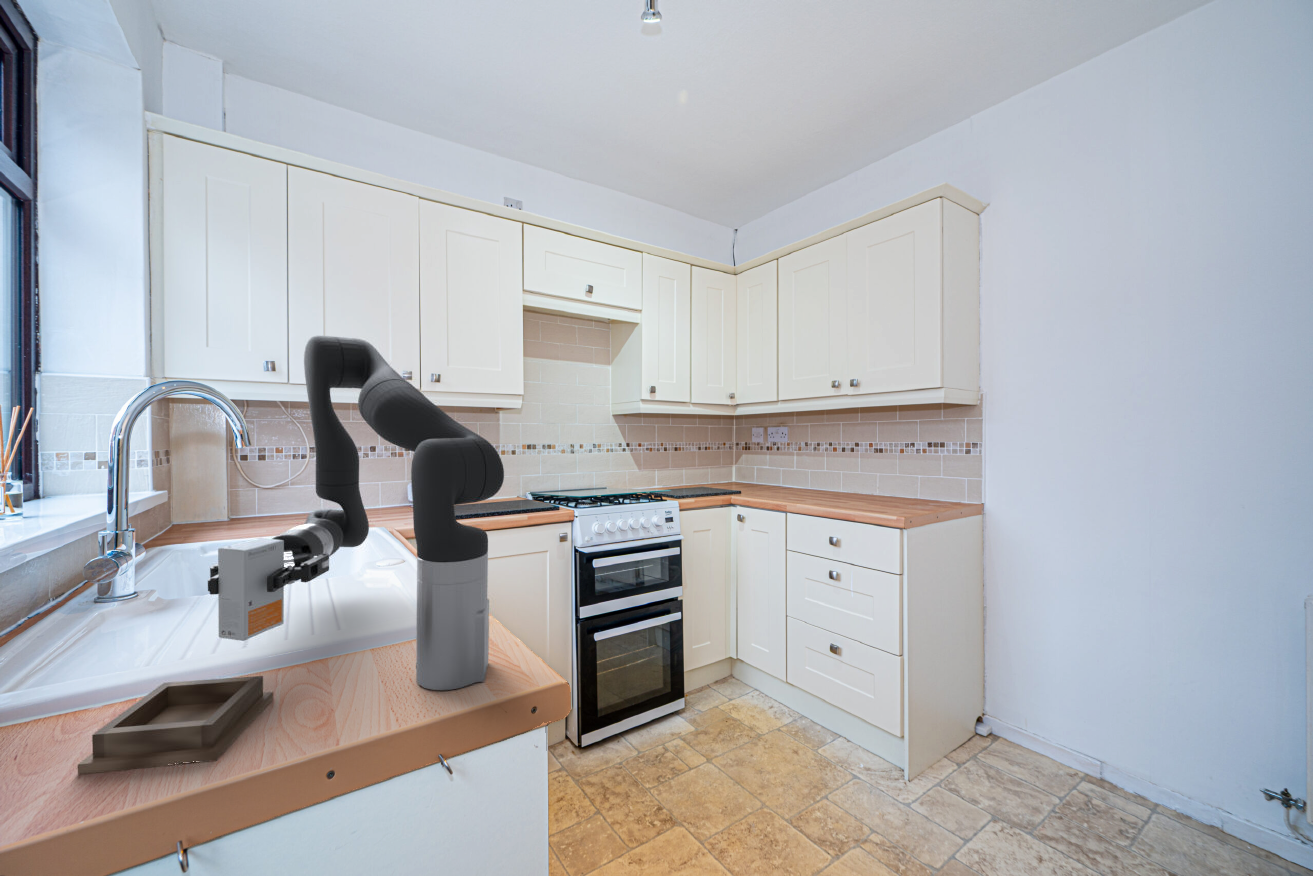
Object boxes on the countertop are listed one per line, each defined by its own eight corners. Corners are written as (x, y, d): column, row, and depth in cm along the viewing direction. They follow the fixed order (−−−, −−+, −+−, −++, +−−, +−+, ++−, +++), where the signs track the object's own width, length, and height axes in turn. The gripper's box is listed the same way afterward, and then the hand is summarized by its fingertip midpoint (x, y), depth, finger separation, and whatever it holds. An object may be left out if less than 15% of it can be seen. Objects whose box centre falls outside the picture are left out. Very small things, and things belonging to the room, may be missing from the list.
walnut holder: (272, 699, 67) (272, 672, 67) (216, 760, 56) (216, 727, 56) (161, 708, 65) (160, 680, 65) (77, 774, 53) (76, 740, 53)
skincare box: (244, 642, 69) (243, 550, 68) (217, 638, 69) (215, 548, 69) (286, 623, 74) (285, 539, 74) (260, 620, 75) (259, 537, 75)
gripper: (247, 529, 84) (176, 559, 67) (348, 527, 87) (303, 555, 70) (248, 576, 84) (177, 617, 68) (348, 572, 87) (303, 611, 71)
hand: (241, 585), depth 69 cm, fingers closed on skincare box, 6 cm apart
